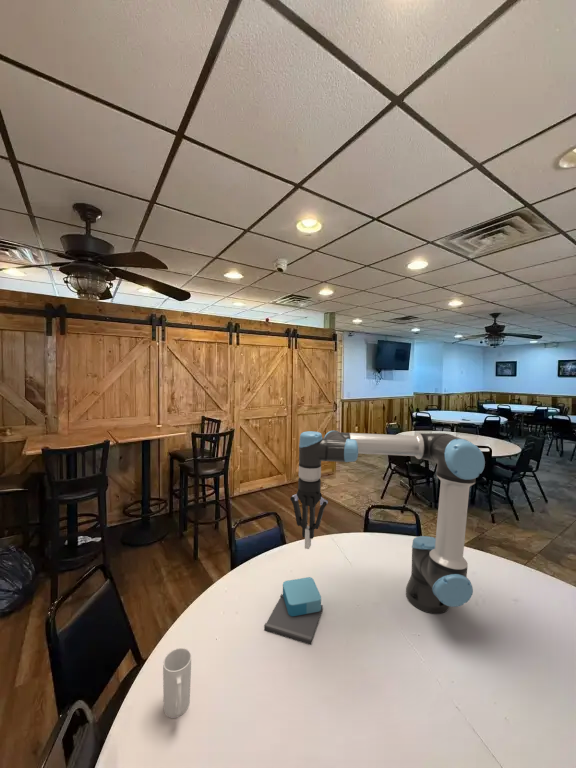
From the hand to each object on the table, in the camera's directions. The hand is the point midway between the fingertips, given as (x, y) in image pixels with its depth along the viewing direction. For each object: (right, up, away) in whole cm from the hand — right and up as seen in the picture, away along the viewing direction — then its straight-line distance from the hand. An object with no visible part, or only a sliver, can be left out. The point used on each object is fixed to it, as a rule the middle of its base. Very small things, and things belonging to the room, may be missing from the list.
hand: (307, 546), depth 108 cm
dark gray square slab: (-4, -26, +2) cm, 27 cm away
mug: (-34, -27, -29) cm, 52 cm away
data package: (0, -23, +2) cm, 23 cm away
